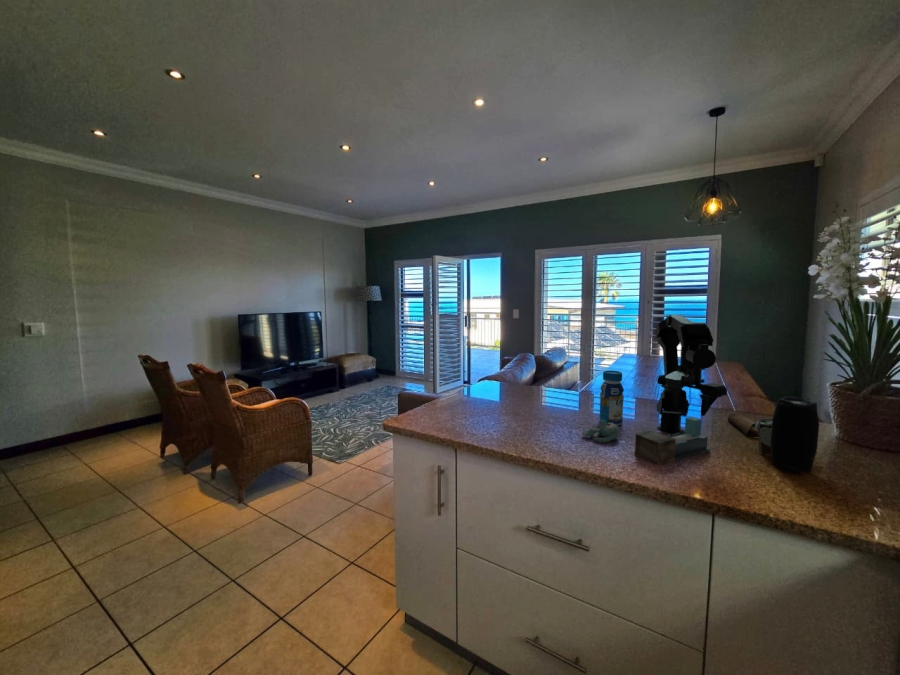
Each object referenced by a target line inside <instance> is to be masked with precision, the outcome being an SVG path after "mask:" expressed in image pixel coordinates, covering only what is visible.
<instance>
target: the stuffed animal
mask: <svg viewBox="0 0 900 675" xmlns="http://www.w3.org/2000/svg"><path fill="white" fill-rule="evenodd" d="M620 432H621V430H620V427H619V425H615V424H614V423H613V422H610V423H609V422H606V421H604V420H601V422H600V424H599V427H598V428H595V427H590V428H589V430H584V431H582V432H581V433H582V436H583V437H584V438H587V437H592V440H593V441H595V442H598V443H601V442H602V443H603V444H608V443H609V442H611V441H613V440H617V439H618V438H619V437H620ZM598 436H600V437H599V438H598ZM607 442H608V443H607Z"/></svg>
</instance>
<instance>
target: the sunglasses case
mask: <svg viewBox="0 0 900 675" xmlns="http://www.w3.org/2000/svg"><path fill="white" fill-rule="evenodd" d="M727 422H729V423H730V424H732V425H734V426H735V427H736V428H737V429H738V430H740V431H741V432H742V433H744V435H745V436H747V437H748V438H749V437H758V429H757V428H756V427H755V425H756V422H757V421H754V420H752V419H751V418H748V417H746V416H743V415H740V414H737V413H732V414H730V415H728V417H727Z"/></svg>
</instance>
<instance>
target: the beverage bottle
mask: <svg viewBox="0 0 900 675" xmlns="http://www.w3.org/2000/svg"><path fill="white" fill-rule="evenodd" d="M602 379H603V382H602V383H601V386H600V393H599V400H600V401H599V422H600V423H601V420H604V421H606V422H609V423H610V422H613V423H614V424H615V425H617V426H621V425H622V424H623V422H624V421H623V415H624V399H625V396H624V391H625V389H624V387H623V385H622V383H621V382H622V381H623V372H622V371H619V370H603V372H602Z"/></svg>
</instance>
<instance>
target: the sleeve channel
mask: <svg viewBox="0 0 900 675" xmlns="http://www.w3.org/2000/svg"><path fill="white" fill-rule="evenodd" d="M684 434H686V433H685V431H684V432H680V433H675V434H672V433H670V434H666V436H668V437H675V436H680V435H684ZM709 453H711V448H708V436H705V435H704V436H700V437H699V438H695V439H690V440H686V441H682V442H677V443H675V461H674V462H677V461H680V460H681V459H682V460H684V459H688V458H689V459H690V458H693V457H696V456H701V455H703V454H709Z"/></svg>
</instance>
